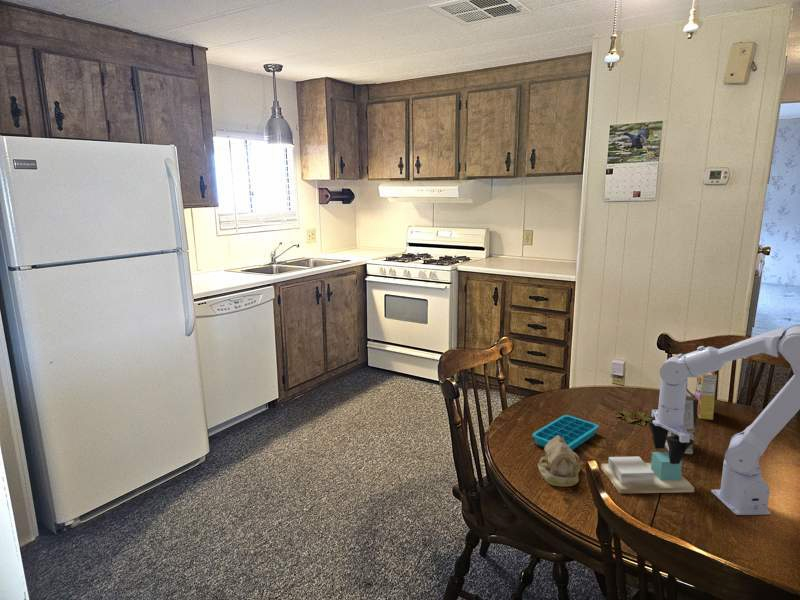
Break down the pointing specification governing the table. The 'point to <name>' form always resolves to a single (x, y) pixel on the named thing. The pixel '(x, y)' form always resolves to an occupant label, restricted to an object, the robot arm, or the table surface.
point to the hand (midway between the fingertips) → (666, 455)
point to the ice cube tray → (566, 431)
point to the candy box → (706, 395)
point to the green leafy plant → (635, 415)
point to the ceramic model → (559, 463)
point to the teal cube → (665, 467)
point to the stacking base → (651, 487)
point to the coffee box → (688, 419)
